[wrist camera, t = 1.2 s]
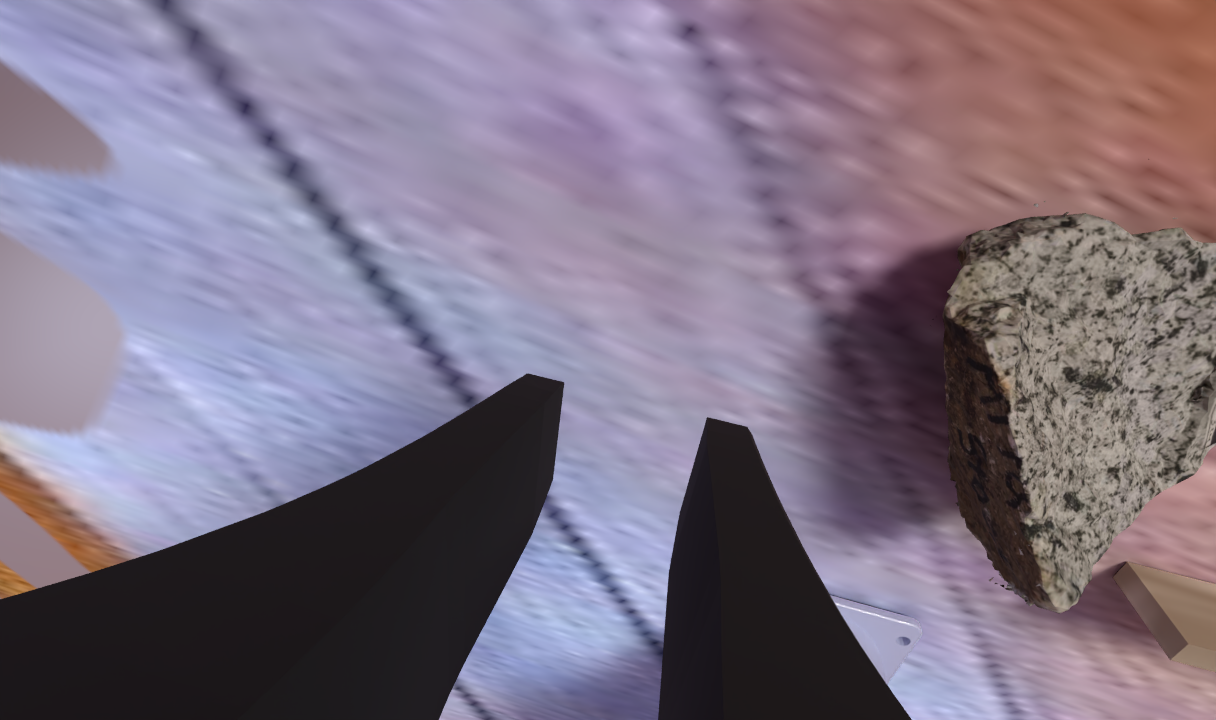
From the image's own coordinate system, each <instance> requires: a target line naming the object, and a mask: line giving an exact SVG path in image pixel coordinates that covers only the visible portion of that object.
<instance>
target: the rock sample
mask: <svg viewBox="0 0 1216 720" xmlns="http://www.w3.org/2000/svg"><path fill="white" fill-rule="evenodd" d="M1148 160H1149V159H1148ZM1044 202H1045V201H1044ZM1034 206H1036V207H1038V204H1034ZM1068 213H1069V212H1066V213H1065V214H1063V215H1057V216H1044V217H1029V218H1024V219H1019V220H1016V221H1013V222H1011V223H1008V224H1005V225H1002V226H999V227H996V228H993V229H991V230H989V231H986V230H980V231H978V232H976V233H973V234H971V235H969V236H967V237H966V238H965V240H964V241H963V243H962V244H961V245H960V247H959V248H958V260H959V263H960V265H961V267H962V269H961V270H960V272H959V274H958V276H957V278H956V280H955V282H954V283H953V285H952V287H951V289H950V290H949V291H947V292H948V294H949V296H948V298H947V301H946V304H945V307H944V312H943V320H944V326H945V333H944V369H945V373H946V377H947V378H946V383H945V391H946V403H945V408H946V412H947V415H948V431H949V432H948V438H949V441H950V446H949V447H948V449H949V455H948V463H949V468H950V472H951V479H950V480H953V481H956V485H955V487H956V489H957V497H958V503H956V504H957V505H958V506H959V510H960V514H961V517H963V518H965V522H966V527H967V528H968V529H969V530H970V532H971V533H972V534H973V535H974V536H975V538H977V539H978V540H979V541H980V542H981V543H982V545H983V546H984V548H985V549H986V551H987V557H988V559H990V560H991V561H992V562H993V563H992V565H993V567H994V569H995V570H998V571H999V573H1000V574H999V575H1000V576H1001V577H1002V578H1004V581H1007V582H1008V584H1009V585H1008V584H1007V588H1005V589H1006V590H1009V591H1014V593H1015V594H1018V595H1019V596H1020V597H1022V598H1023V599H1024V600H1025V601H1026V602H1027V604H1028V605H1029V606H1031V605H1033V604H1035V605H1036V606H1037V607H1040V608H1043V609H1047V610H1050V611H1053V612H1056V613H1062V612H1064V611H1067V610H1069V609H1070V607H1071V606H1073V605H1075V604H1077V602H1078V600H1079V598H1080V597H1081V595H1082V593H1083V591H1084V588H1085V586H1086V585H1087V584H1088V583H1089V582H1090V581H1091V580H1092V575H1091V572H1092V568H1093V565H1094V564H1095V563H1096V562H1098V561H1099V559H1100V558H1101V557H1102V556H1103V554H1104V553H1105V552H1106V551H1107V549H1108V548H1109V547H1110V545H1111V543H1112V541H1113V539H1114V537H1116V536H1117V535H1118V534H1120V533H1121V532H1122V531H1123V530H1125V529H1126V528H1127V527H1129V526H1130V525H1131V524H1132V523H1133V521H1134V520H1135V519H1136V518H1137V517H1138V515H1139V514H1140V512H1141V511H1142V509H1143V507H1144V506H1145V504H1146V503H1148V502H1149V501H1150V500H1151V499H1152V498H1154V497H1155V496H1156V495H1158V494H1159V493H1160V492H1162V491H1164V490H1166V489H1168V488H1170V487H1172V486H1174V485H1176V484H1177V483H1179V482H1181V481H1183V480H1185V479H1187V478H1189V477H1191V476H1193V475H1194V474H1195V473H1196V472H1197V470H1198V469H1199V468H1200V466H1201V465H1202V464H1203V459H1204V457H1205V456H1206V454H1207V453H1208V451H1209V450H1210V449H1211V448H1212V447H1214V446H1215V445H1216V243H1202V242H1198V241H1195V240H1193V239H1192V238H1191V237H1190V236H1189V235H1188V234H1187V233H1186V232H1185V231H1184V230H1183V229H1182V228H1172V229H1162V230H1159V231H1156V232H1149V233H1142V234H1135V235H1131V234H1130V233H1128V232H1127V231H1125V230H1124V229H1123V228H1121V227H1120V226H1119V225H1117V224H1116V223H1114V222H1112V221H1109V220H1106V219H1103V218H1100V217H1097V216H1093V215H1089V214H1086V213H1084V214H1073V215H1067V214H1068ZM1173 219H1176V218H1173ZM957 270H958V269H957ZM936 317H937V316H936ZM936 317H935V318H936ZM932 320H933V319H932ZM930 326H931V325H930ZM992 579H993V578H991V579H990V580H989V581H991V580H992ZM995 584H998V583H995ZM1000 586H1002V587H1004V585H1000ZM1025 596H1027V597H1025Z"/></svg>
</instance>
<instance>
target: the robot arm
mask: <svg viewBox="0 0 1216 720" xmlns="http://www.w3.org/2000/svg"><path fill="white" fill-rule="evenodd" d="M563 388H564V382H561V381H557V380H552V379H548V378H544V377H540V376H536V375H532V374H526V375H524V376H523V377H521V378H519V379H517V380H516V381H514V382H512V383H511V384H509V385H507V386H506V387H504V388H503V389H501V390H499V391H498V392H496V393H495V394H493V395H491V396H490V397H488V398H487V399H485V400H484V401H482V402H480V403H479V404H477V405H475V406H474V407H472V408H471V409H469V410H467V411H466V412H464V413H462V414H461V415H459V416H457V417H456V418H454V419H452V420H451V421H449V422H447V423H446V424H444V425H442V426H441V427H439V428H437V429H435V430H434V431H432V432H430V433H429V434H427V435H425V436H424V437H422V438H420V439H418V440H416V441H414V442H412V443H411V444H409V445H407V446H405V447H403V448H401V449H399V450H397V451H395V452H394V453H392V454H390V455H388V456H386V457H384V458H382V459H380V460H379V461H377V462H375V463H373V464H371V465H369V466H367V467H365V468H363V469H361V470H359V471H357V472H355V473H353V474H351V475H349V476H347V477H344V478H342V479H340V480H338V481H336V482H334V483H332V484H329V485H327V486H325V487H323V488H320V489H318V490H316V491H313V492H311V493H309V494H306V495H304V496H302V497H300V498H297V499H295V500H293V501H290V502H288V503H286V504H283V505H281V506H278V507H276V508H274V509H271V510H269V511H266V512H264V513H261V514H258V515H256V516H253V517H250V518H248V519H245V520H242V521H239V522H237V523H234V524H231V525H228V526H226V527H223V528H220V529H218V530H215V531H212V532H209V533H207V534H204V535H201V536H198V537H196V538H193V539H190V540H188V541H185V542H182V543H179V544H177V545H174V546H171V547H168V548H166V549H163V550H160V551H157V552H154V553H151V554H148V555H145V556H142V557H139V558H136V559H132V560H129V561H126V562H123V563H120V564H117V565H114V566H111V567H107V568H104V569H101V570H98V571H95V572H92V573H89V574H85V575H82V576H79V577H75V578H72V579H68V580H65V581H62V582H58V583H55V584H52V585H48V586H45V587H42V588H38V589H35V590H31V591H28V592H25V593H21V594H18V595H14V596H11V597H7V598H4V599H0V720H439V718H440V715H441V713H442V711H443V708H444V706H445V703H446V701H447V699H448V696H449V694H450V692H451V690H452V688H453V686H454V684H455V682H456V680H457V677H458V675H459V673H460V671H461V669H462V667H463V665H464V663H465V661H466V659H467V657H468V655H469V653H470V651H471V650H472V648H473V646H474V644H475V642H476V640H477V638H478V636H479V634H480V632H481V631H482V629H483V627H484V625H485V623H486V621H487V619H488V617H489V615H490V614H491V612H492V610H493V608H494V606H495V604H496V602H497V600H498V598H499V596H500V595H501V593H502V591H503V589H504V587H505V585H506V583H507V581H508V579H509V578H510V576H511V574H512V572H513V570H514V568H515V566H516V564H517V562H518V560H519V558H520V556H521V554H522V553H523V551H524V549H525V547H526V545H527V543H528V541H529V539H530V537H531V535H532V533H533V530H534V528H535V525H536V523H537V520H538V518H539V515H540V512H541V510H542V507H543V505H544V502H545V499H546V497H547V494H548V491H549V489H550V486H551V483H552V481H553V474H554V466H555V457H556V448H557V440H558V431H559V423H560V414H561V406H562V397H563ZM921 636H922V629H921V626H920V623H919V622H918V621H917V620H916V619H913V618H911V617H907V616H904V615H900V614H897V613H893V612H889V611H886V610H882V609H879V608H875V607H871V606H868V605H864V604H860V603H857V602H853V601H850V600H846V599H842V598H839V597H835V596H831V595H830V594H829V593H828V591H827V589H826V587H825V586H824V584H823V582H822V580H821V579H820V577H819V575H818V573H817V572H816V570H815V568H814V566H813V564H812V563H811V561H810V559H809V557H808V555H807V553H806V552H805V550H804V548H803V546H802V544H801V542H800V540H799V538H798V536H797V534H796V532H795V530H794V528H793V526H792V524H791V522H790V520H789V518H788V516H787V514H786V512H785V510H784V508H783V506H782V504H781V502H780V500H779V498H778V495H777V493H776V491H775V489H774V487H773V484H772V482H771V480H770V478H769V475H768V473H767V471H766V468H765V466H764V464H763V461H762V459H761V456H760V454H759V451H758V449H757V446H756V444H755V441H754V438H753V436H752V434H751V432H750V431H749V429H748V427H745V426H741V425H737V424H733V423H729V422H725V421H721V420H717V419H712V418H708V417H707V420H706V423H705V427H704V430H703V434H702V437H701V441H700V444H699V448H698V451H697V455H696V458H695V462H694V465H693V469H692V472H691V476H690V479H689V483H688V486H687V490H686V493H685V497H684V500H683V504H682V507H681V511H680V515H679V520H678V525H677V531H676V536H675V542H674V547H673V553H672V558H671V564H670V570H669V579H668V592H667V605H666V619H665V633H664V647H663V661H662V675H661V689H660V703H659V717H658V720H912V719H911V718H910V717H909V715H908V714H907V712H906V711H905V710H904V708H903V707H902V705H901V704H900V703H899V701H898V700H897V698H896V697H895V696H894V694H893V693H892V691H891V690H890V688H889V687H888V685H887V684H888V683H889V681H890V680H891V678H892V677H893V676H894V674H895V673H896V671H897V670H898V669H899V667H900V666H901V664H902V663H903V661H904V660H905V659H906V657H907V656H908V654H909V653H910V652H911V650H912V649H913V647H914V646H915V645H916V643H917V642H918V640H919V639H920V638H921Z"/></svg>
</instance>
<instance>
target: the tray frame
mask: <svg viewBox="0 0 1216 720" xmlns="http://www.w3.org/2000/svg"><path fill="white" fill-rule="evenodd" d="M1113 579H1114V580H1115V581H1116V583H1117V584H1118V586H1119V587H1120V589H1121V590H1122V592H1123V593H1124V594H1125V596H1126V597H1127V599H1128V600H1129V602H1130V603H1131V604H1132V606H1133V607H1134V609H1135V610H1136V612H1137V613H1138V614H1139V616H1140V617H1141V619H1142V620H1143V622H1144V623H1145V625H1146V626H1147V627H1148V629H1149V630H1150V632H1151V633H1152V635H1153V636H1154V637H1155V639H1156V640H1157V642H1158V643H1159V645H1160V646H1161V648H1162V649H1163V650H1164V652H1165V653H1166V655H1167V656H1168V658H1169V659H1170V660H1172V661H1176V662H1179V663H1183V664H1187V665H1190V666H1194V667H1198V668H1202V669H1205V670H1209V671H1213V672H1216V584H1213V583H1209V582H1205V581H1201V580H1197V579H1193V578H1189V577H1185V576H1181V575H1177V574H1173V573H1169V572H1165V571H1162V570H1158V569H1154V568H1150V567H1146V566H1142V565H1138V564H1134V563H1130V562H1127V563H1126V564H1125V565H1124V566H1123V567H1122V568H1121V569H1120V570H1119V571H1118V572H1117V573H1116V574H1115V576H1114V577H1113Z"/></svg>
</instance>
